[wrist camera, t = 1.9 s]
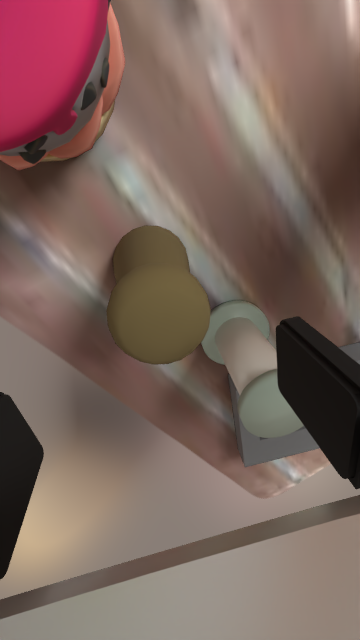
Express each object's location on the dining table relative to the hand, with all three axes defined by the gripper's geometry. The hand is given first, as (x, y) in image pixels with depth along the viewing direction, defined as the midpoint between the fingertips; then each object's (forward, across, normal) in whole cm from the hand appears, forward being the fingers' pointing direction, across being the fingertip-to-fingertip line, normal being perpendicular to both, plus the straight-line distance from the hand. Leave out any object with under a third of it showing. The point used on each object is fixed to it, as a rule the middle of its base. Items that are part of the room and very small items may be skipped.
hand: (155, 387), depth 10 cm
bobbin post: (+14, -7, +8) cm, 18 cm away
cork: (+14, -1, 0) cm, 15 cm away
